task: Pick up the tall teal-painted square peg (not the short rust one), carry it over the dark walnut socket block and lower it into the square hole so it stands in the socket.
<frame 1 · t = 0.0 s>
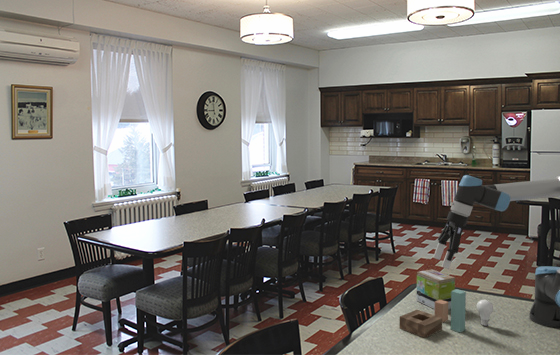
hand: (440, 263, 185), 28 cm above the table, tool tilted 20°, fingers open, 13 cm apart
tea box: (434, 305, 216), on the table
socket block: (420, 329, 189), on the table
short peg: (441, 319, 198), on the table
long peg: (457, 329, 188), on the table
lightbulb: (484, 326, 191), on the table
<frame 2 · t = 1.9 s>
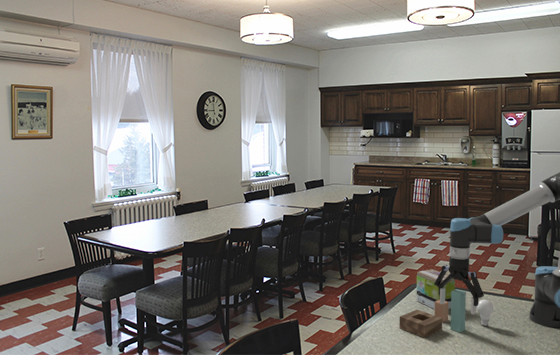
hand: (457, 308, 187), 9 cm above the table, tool pointing down, fingers open, 13 cm apart
nothing on the table moved.
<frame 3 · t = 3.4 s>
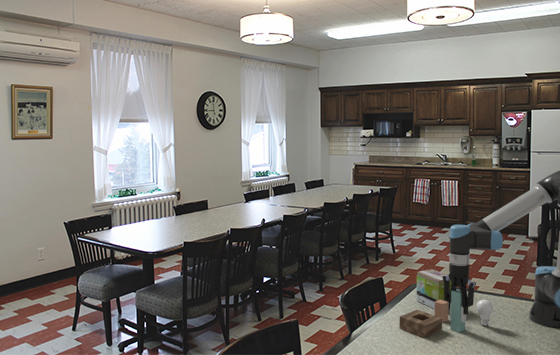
hand: (457, 319, 187), 4 cm above the table, tool pointing down, fingers closed on long peg, 4 cm apart
long peg: (457, 329, 188), on the table, touching gripper
everything else where it was.
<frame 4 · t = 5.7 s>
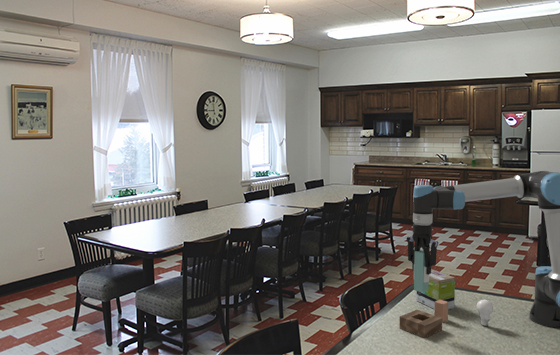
hand: (421, 280, 187), 20 cm above the table, tool pointing down, fingers closed on long peg, 4 cm apart
long peg: (421, 290, 187), point 16 cm above the table, touching gripper
everything else where it was.
when the fingers open (7 cm above the table, at t = 8.0 s): long peg drops 2 cm, resting in socket block.
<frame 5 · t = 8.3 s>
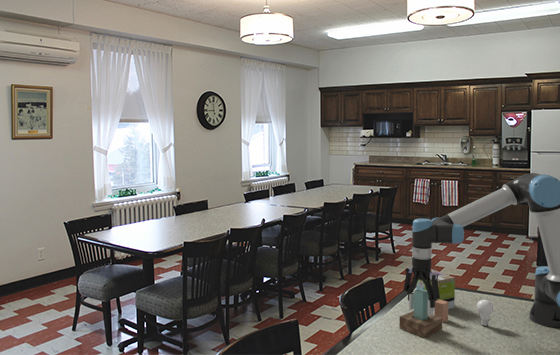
hand: (420, 311, 188), 7 cm above the table, tool pointing down, fingers open, 8 cm apart
long peg: (420, 329, 189), resting in socket block
everything else where it was.
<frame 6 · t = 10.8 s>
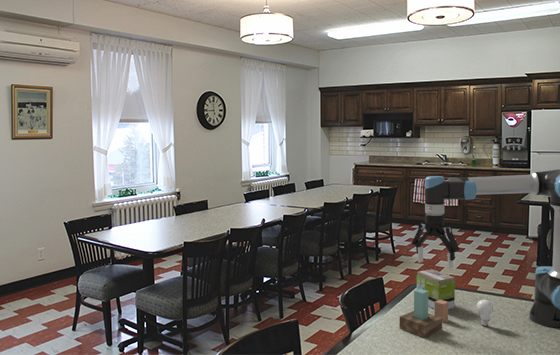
hand: (435, 265, 190), 26 cm above the table, tool pointing down, fingers open, 13 cm apart
nothing on the table moved.
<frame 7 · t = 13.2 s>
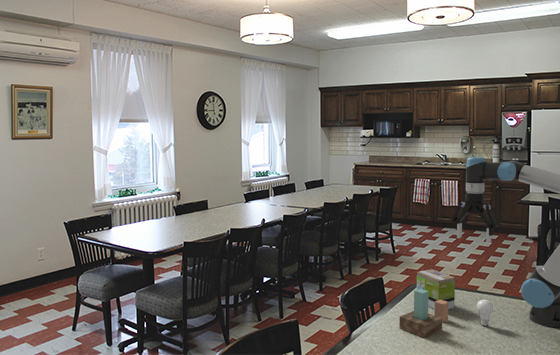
hand: (473, 240, 203), 33 cm above the table, tool pointing down, fingers open, 13 cm apart
nothing on the table moved.
at the end: long peg 0.0 cm off-centre on the socket block, point 0.0 cm above the socket block's base; long peg tilted 0°; the gripper is holding nothing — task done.
